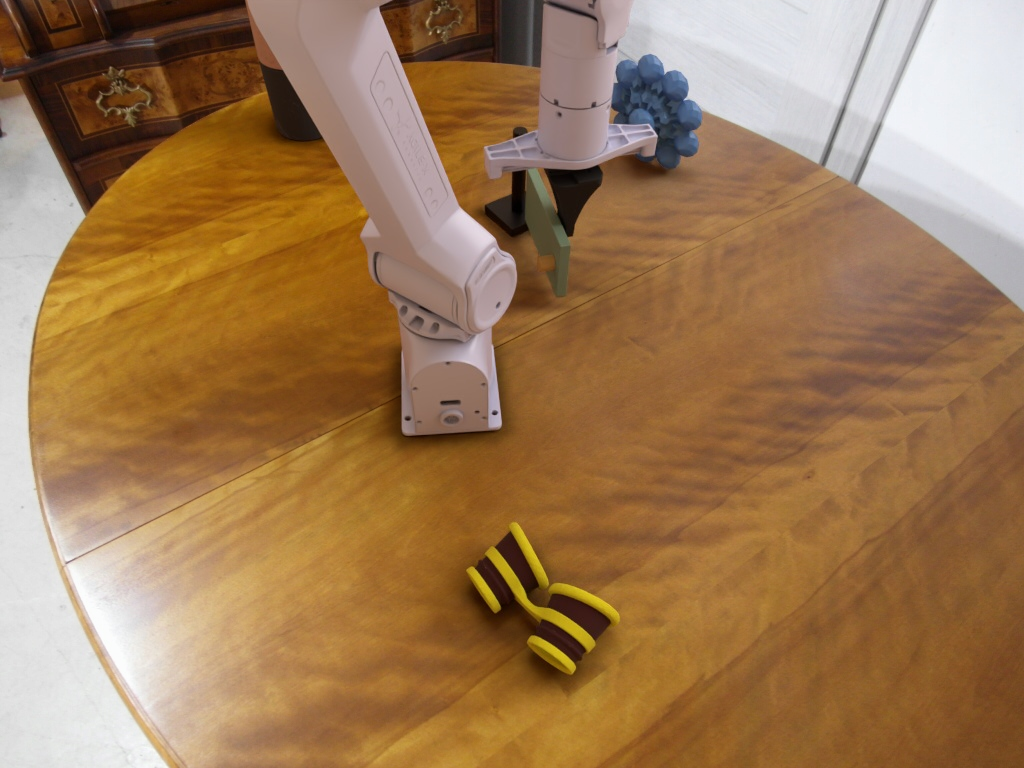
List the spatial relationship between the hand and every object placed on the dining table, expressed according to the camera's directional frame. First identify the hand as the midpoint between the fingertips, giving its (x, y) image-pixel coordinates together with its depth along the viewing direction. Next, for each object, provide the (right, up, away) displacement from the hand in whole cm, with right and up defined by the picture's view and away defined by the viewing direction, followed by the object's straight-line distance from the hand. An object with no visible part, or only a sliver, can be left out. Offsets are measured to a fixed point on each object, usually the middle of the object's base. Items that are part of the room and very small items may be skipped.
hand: (564, 230), depth 71 cm
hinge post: (-4, +3, +10) cm, 12 cm away
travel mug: (-29, +17, +21) cm, 40 cm away
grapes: (+10, +11, +17) cm, 22 cm away
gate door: (-2, -2, +4) cm, 5 cm away
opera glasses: (-3, -30, -18) cm, 35 cm away
